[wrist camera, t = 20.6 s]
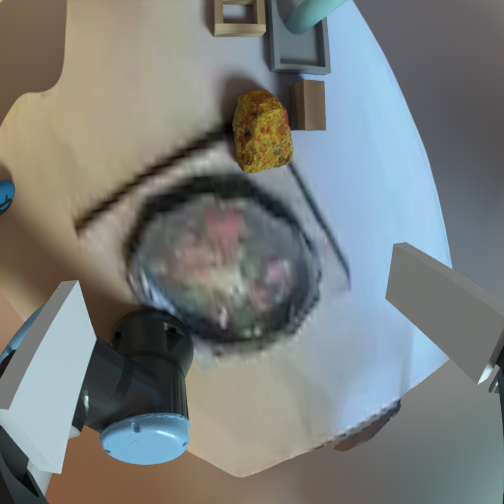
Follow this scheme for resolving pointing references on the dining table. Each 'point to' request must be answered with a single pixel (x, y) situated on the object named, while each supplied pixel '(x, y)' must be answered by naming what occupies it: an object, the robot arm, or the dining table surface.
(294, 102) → the block
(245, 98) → the rock
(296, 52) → the tray
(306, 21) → the dowel
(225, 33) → the socket block
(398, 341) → the dining table surface
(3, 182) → the ornament
